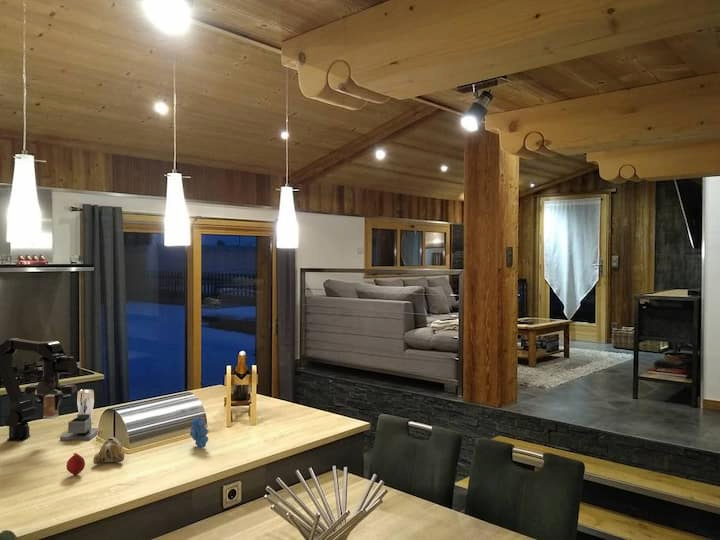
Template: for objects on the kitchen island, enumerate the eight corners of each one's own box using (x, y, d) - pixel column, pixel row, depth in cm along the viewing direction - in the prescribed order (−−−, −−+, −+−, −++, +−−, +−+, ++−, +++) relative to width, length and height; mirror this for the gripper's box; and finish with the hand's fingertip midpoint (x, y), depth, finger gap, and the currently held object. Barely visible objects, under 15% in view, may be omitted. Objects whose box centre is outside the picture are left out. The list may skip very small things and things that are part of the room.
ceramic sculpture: (127, 430, 226) (123, 445, 212) (127, 452, 227) (123, 468, 213) (97, 433, 223) (91, 447, 209) (97, 454, 224) (92, 471, 210)
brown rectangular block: (43, 418, 236) (43, 396, 236) (48, 416, 241) (48, 394, 240) (53, 418, 237) (53, 396, 236) (58, 416, 241) (58, 394, 241)
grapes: (182, 445, 237) (182, 416, 236) (197, 441, 241) (198, 413, 241) (196, 452, 228) (196, 422, 228) (212, 448, 233) (212, 419, 233)
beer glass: (77, 422, 266) (77, 390, 266) (93, 420, 269) (94, 388, 269) (76, 426, 260) (77, 393, 260) (94, 424, 263) (94, 392, 262)
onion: (80, 470, 207) (80, 448, 207) (87, 475, 204) (88, 452, 204) (63, 475, 203) (63, 452, 203) (71, 479, 199) (71, 456, 199)
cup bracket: (60, 440, 241) (60, 420, 240) (72, 431, 252) (72, 412, 252) (89, 440, 241) (89, 419, 241) (100, 431, 253) (100, 412, 253)
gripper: (17, 376, 230) (17, 415, 230) (65, 376, 231) (65, 415, 231) (31, 370, 241) (31, 408, 241) (77, 370, 242) (77, 408, 242)
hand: (51, 410), depth 239 cm, fingers closed on brown rectangular block, 4 cm apart
